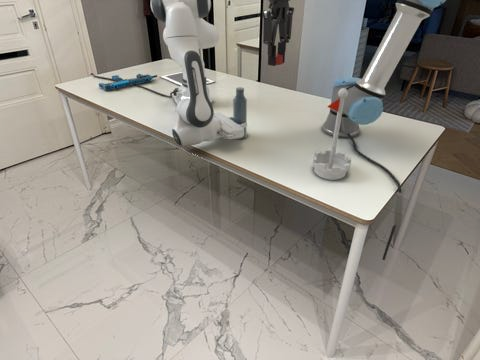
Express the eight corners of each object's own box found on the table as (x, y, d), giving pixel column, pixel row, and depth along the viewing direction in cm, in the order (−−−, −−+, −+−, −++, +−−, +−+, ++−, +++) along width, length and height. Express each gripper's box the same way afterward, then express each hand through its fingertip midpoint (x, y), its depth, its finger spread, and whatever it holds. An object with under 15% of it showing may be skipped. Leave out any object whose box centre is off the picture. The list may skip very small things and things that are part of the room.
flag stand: (334, 159, 128) (348, 80, 112) (356, 176, 118) (375, 92, 101) (304, 166, 124) (314, 84, 108) (324, 184, 114) (338, 97, 97)
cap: (282, 65, 115) (283, 57, 114) (269, 65, 115) (270, 57, 114) (282, 61, 119) (282, 54, 117) (269, 61, 119) (269, 54, 118)
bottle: (237, 140, 142) (237, 91, 131) (231, 135, 146) (230, 87, 135) (249, 137, 145) (249, 89, 133) (242, 132, 149) (242, 85, 137)
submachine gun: (143, 68, 224) (161, 74, 208) (144, 74, 226) (162, 80, 210) (91, 78, 206) (107, 86, 189) (92, 84, 208) (108, 92, 191)
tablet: (160, 77, 218) (160, 76, 218) (186, 71, 229) (186, 70, 229) (187, 89, 198) (187, 88, 198) (215, 82, 209) (215, 81, 209)
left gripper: (225, 130, 127) (255, 123, 133) (201, 113, 142) (229, 106, 148) (225, 145, 131) (255, 137, 137) (202, 127, 145) (229, 120, 151)
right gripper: (287, -16, 112) (283, 57, 124) (251, -13, 101) (251, 66, 114) (306, -15, 107) (299, 60, 120) (271, -12, 97) (268, 70, 110)
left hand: (241, 121), depth 142 cm, fingers closed on bottle, 5 cm apart
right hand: (276, 63), depth 117 cm, fingers closed on cap, 4 cm apart
